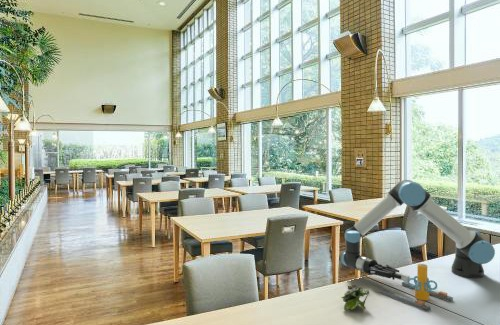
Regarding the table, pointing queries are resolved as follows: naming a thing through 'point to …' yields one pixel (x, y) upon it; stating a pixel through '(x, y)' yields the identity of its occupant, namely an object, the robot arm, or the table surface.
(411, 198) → the robot arm
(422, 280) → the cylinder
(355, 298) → the passion flower
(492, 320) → the table surface
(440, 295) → the guide track
